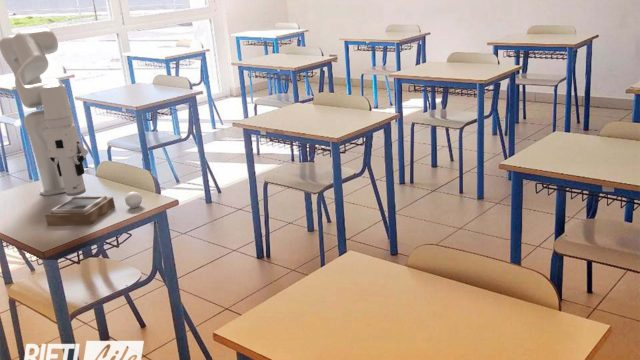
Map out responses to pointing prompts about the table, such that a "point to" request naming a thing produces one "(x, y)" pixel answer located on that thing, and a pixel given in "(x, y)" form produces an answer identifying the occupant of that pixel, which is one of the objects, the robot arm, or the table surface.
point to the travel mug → (69, 172)
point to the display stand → (80, 211)
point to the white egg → (133, 199)
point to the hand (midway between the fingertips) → (72, 174)
